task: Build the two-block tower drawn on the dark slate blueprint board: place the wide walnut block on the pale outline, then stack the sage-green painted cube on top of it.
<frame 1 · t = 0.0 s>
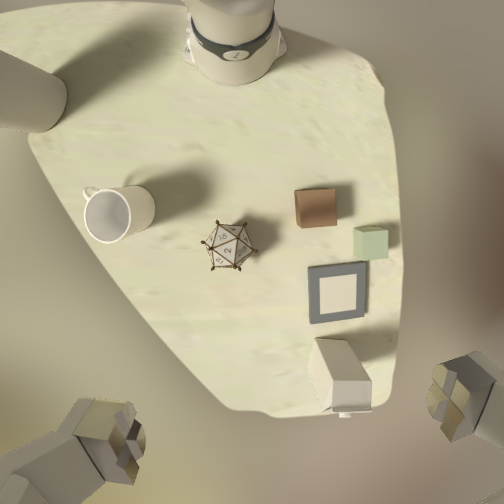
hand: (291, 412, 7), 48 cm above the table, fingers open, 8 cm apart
blueprint board: (336, 292, 57), on the table
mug: (127, 203, 53), on the table
walnut block: (312, 206, 54), on the table
sage cube: (365, 240, 55), on the table
game die: (230, 241, 55), on the table
milk carton: (326, 353, 60), on the table
cylinder vase: (45, 105, 48), on the table
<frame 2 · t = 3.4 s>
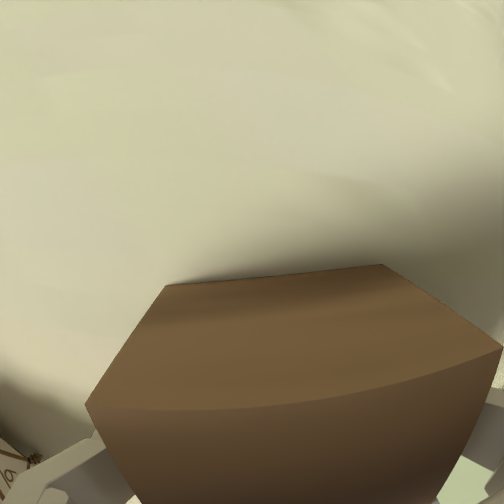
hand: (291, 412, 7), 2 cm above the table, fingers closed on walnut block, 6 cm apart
walnut block: (283, 370, 9), on the table, touching gripper
sage cube: (475, 433, 10), on the table
game die: (2, 432, 10), on the table
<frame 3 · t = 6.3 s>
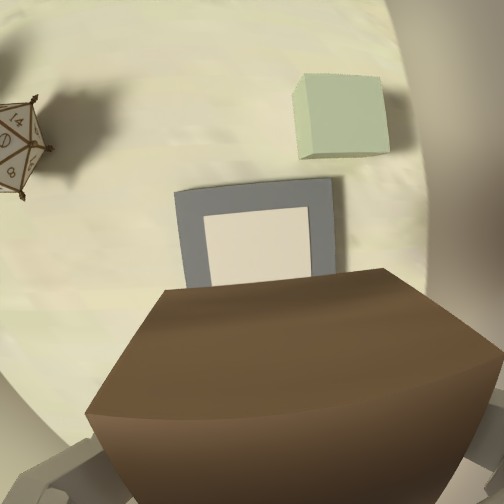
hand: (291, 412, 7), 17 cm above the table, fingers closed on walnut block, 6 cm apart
blueprint board: (259, 257, 23), on the table
walnut block: (283, 374, 9), point 15 cm above the table, touching gripper
sage cube: (327, 125, 21), on the table
game die: (31, 149, 21), on the table
when the fingers open (5 cm above the table, at t = 8.9 s): walnut block drops 1 cm, resting on blueprint board.
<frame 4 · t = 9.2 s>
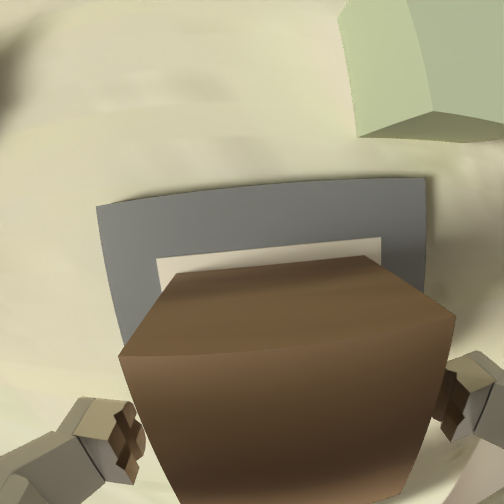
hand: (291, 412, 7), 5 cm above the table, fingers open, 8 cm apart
blueprint board: (275, 333, 11), on the table
walnut block: (278, 349, 10), point 1 cm above the table, touching blueprint board
sage cube: (404, 79, 10), on the table
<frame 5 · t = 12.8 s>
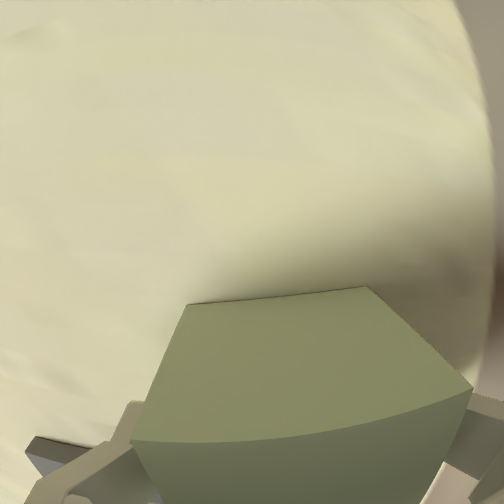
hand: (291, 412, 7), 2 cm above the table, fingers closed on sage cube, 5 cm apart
sage cube: (283, 373, 9), on the table, touching gripper
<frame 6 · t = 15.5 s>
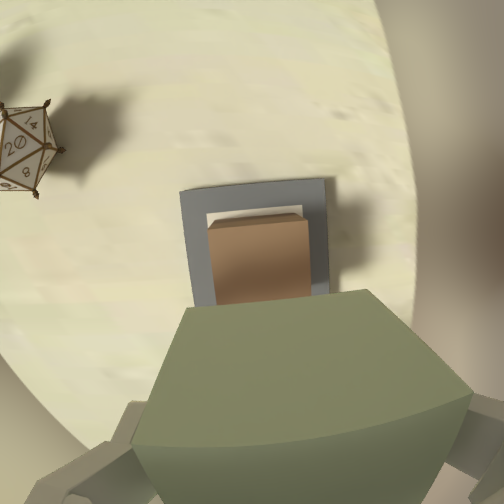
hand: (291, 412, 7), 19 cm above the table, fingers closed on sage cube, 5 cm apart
blueprint board: (257, 252, 25), on the table
walnut block: (258, 255, 24), point 1 cm above the table, touching blueprint board
sage cube: (283, 375, 9), point 17 cm above the table, touching gripper
game die: (42, 151, 23), on the table
when the fingers open (9 cm above the table, at t = 17.9 s): sage cube stays where it is, resting on walnut block.
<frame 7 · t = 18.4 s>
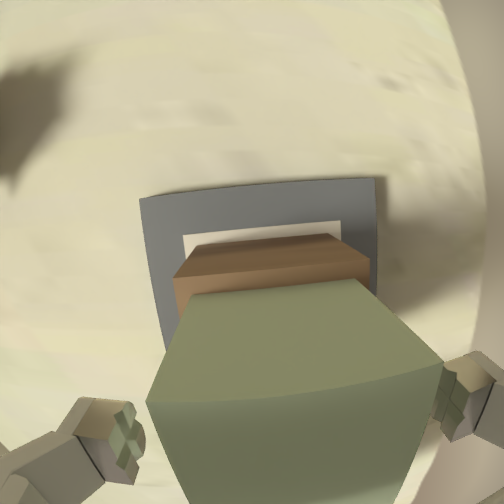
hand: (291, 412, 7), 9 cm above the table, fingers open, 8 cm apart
blueprint board: (266, 293, 16), on the table
walnut block: (268, 301, 15), point 1 cm above the table, touching blueprint board, sage cube
sage cube: (279, 358, 10), point 6 cm above the table, touching walnut block
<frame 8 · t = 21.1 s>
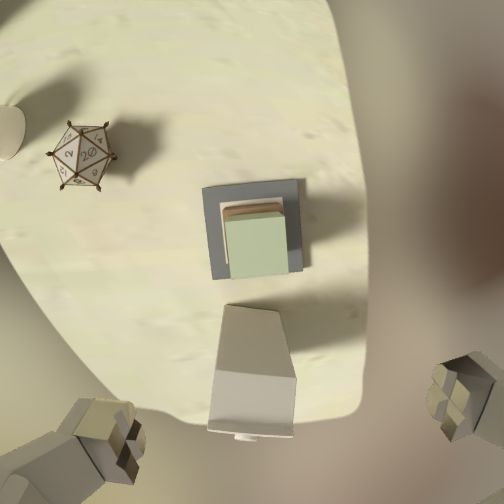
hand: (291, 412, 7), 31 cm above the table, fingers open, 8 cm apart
blueprint board: (253, 229, 37), on the table
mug: (4, 128, 33), on the table
walnut block: (253, 230, 36), point 1 cm above the table, touching blueprint board, sage cube
sage cube: (255, 238, 31), point 6 cm above the table, touching walnut block
game die: (98, 157, 35), on the table
milk carton: (247, 331, 40), on the table
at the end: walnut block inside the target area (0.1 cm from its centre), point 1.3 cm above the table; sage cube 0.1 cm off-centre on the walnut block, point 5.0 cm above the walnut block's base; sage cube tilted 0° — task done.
